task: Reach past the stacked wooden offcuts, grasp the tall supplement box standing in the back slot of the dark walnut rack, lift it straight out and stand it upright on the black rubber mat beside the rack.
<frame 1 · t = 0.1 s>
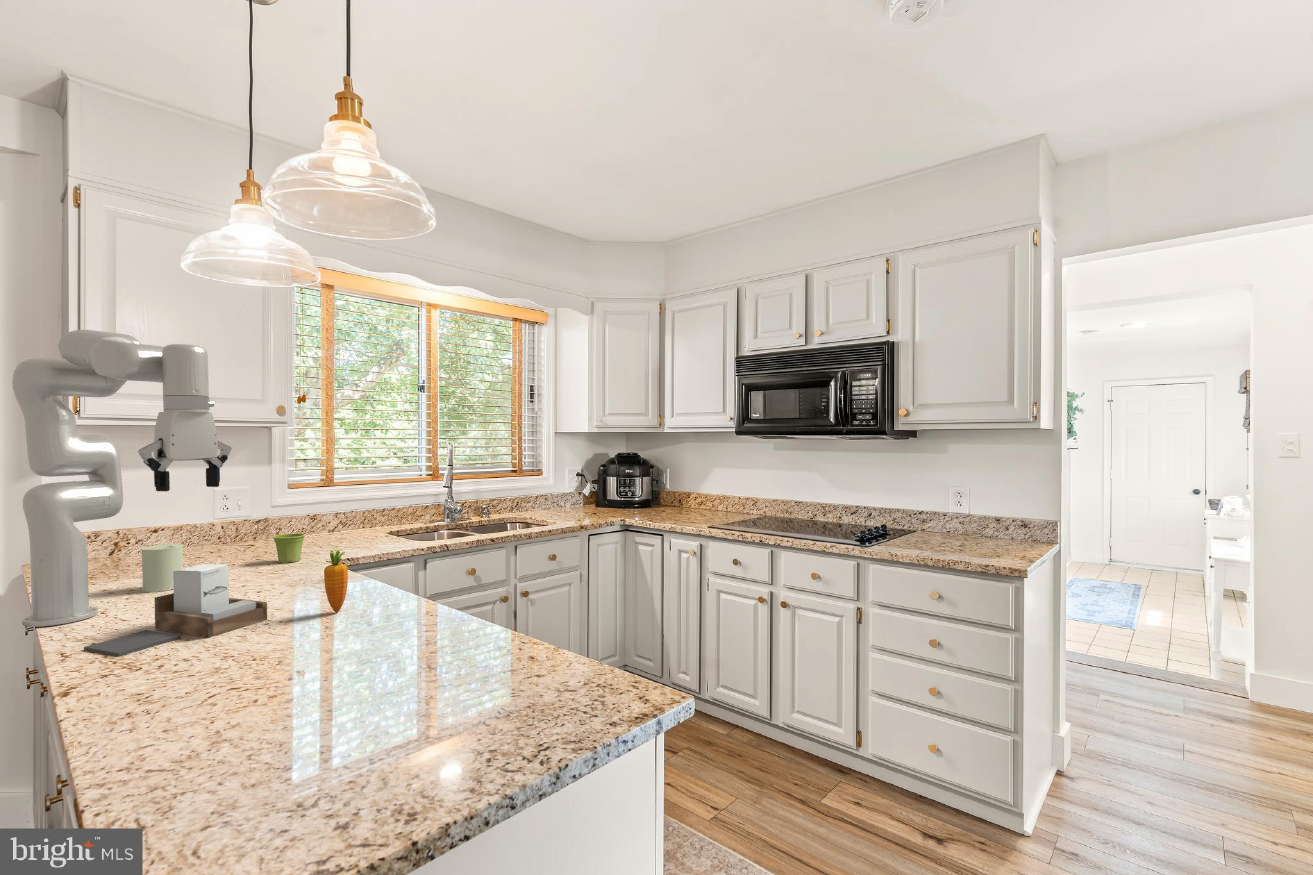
hand: (188, 488, 128), 31 cm above the counter, tool pointing down, fingers open, 9 cm apart
rubber mat: (133, 643, 126), on the counter
plant pot: (289, 562, 206), on the counter
can: (163, 588, 172), on the counter
upper offcut: (228, 617, 136), point 2 cm above the counter, touching lower offcut
walnut rack: (212, 624, 138), on the counter
supplement box: (202, 624, 139), resting in walnut rack
carrot: (336, 613, 146), on the counter
lower offcut: (228, 628, 136), resting in walnut rack, touching upper offcut
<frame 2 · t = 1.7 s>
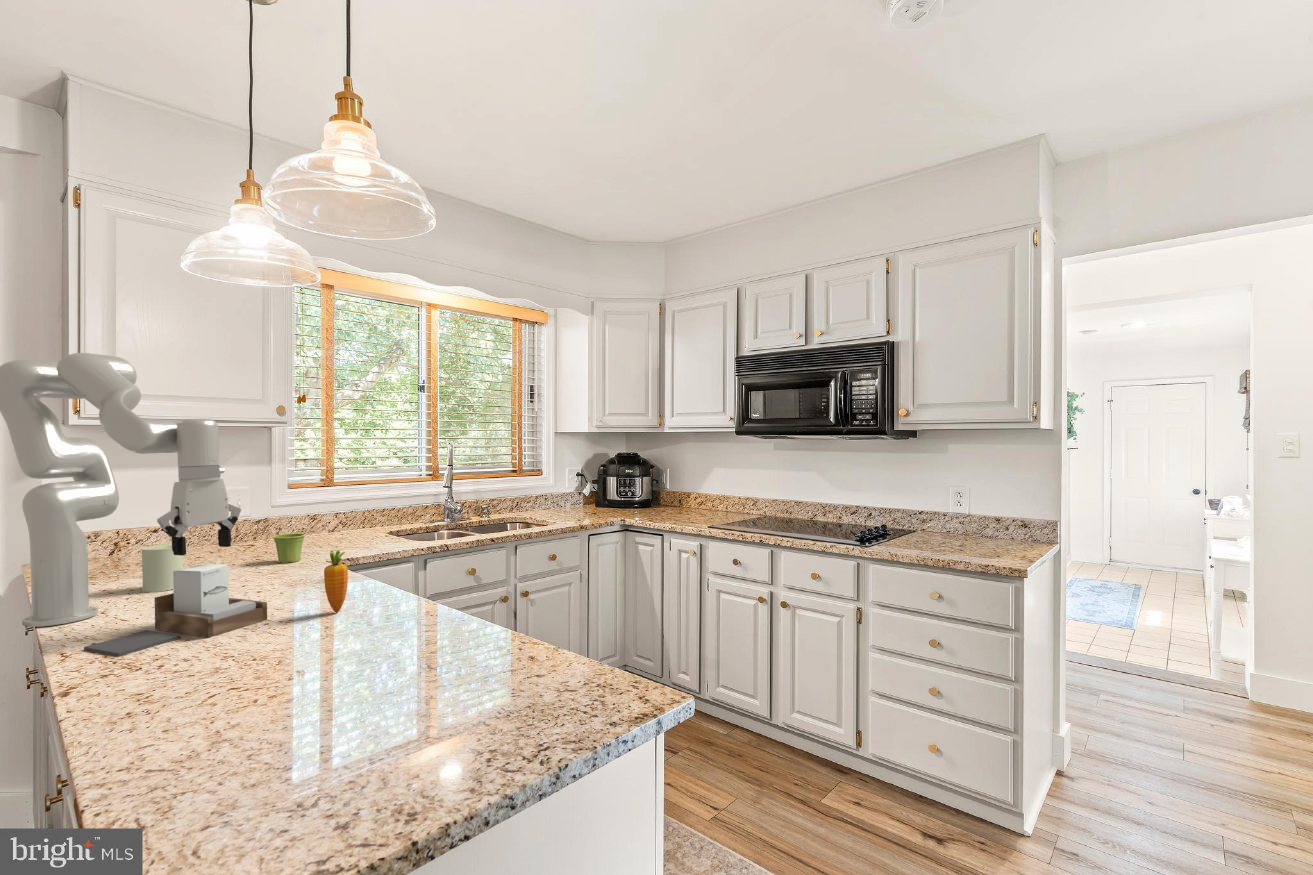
hand: (203, 550, 139), 16 cm above the counter, tool pointing down, fingers open, 9 cm apart
nothing on the counter moved.
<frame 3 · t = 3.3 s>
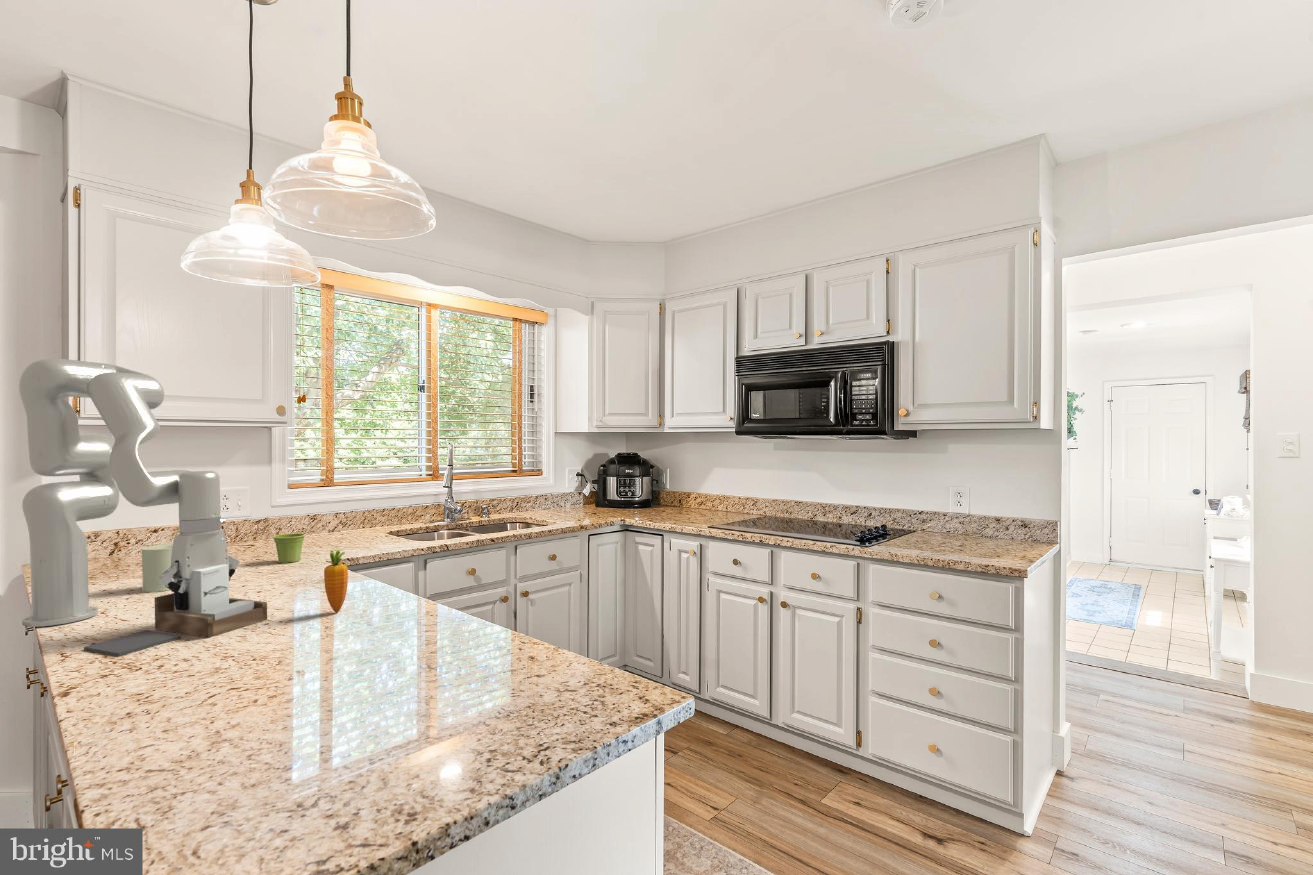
hand: (202, 604, 139), 4 cm above the counter, tool pointing down, fingers closed on supplement box, 8 cm apart
supplement box: (202, 623, 139), resting in walnut rack, touching gripper
everything else where it was.
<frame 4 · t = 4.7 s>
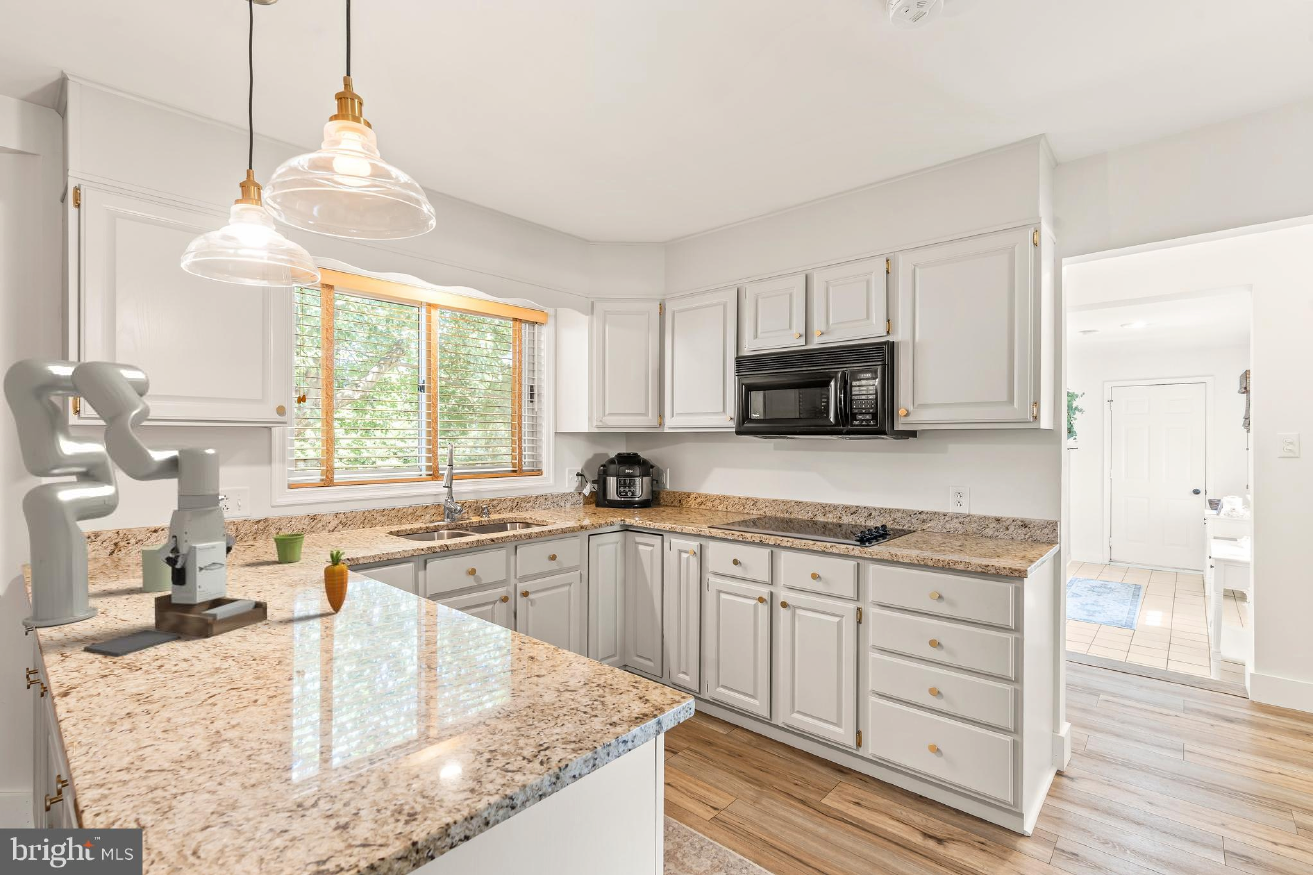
hand: (198, 580, 139), 10 cm above the counter, tool pointing down, fingers closed on supplement box, 7 cm apart
supplement box: (199, 600, 139), point 5 cm above the counter, touching gripper
everything else where it was.
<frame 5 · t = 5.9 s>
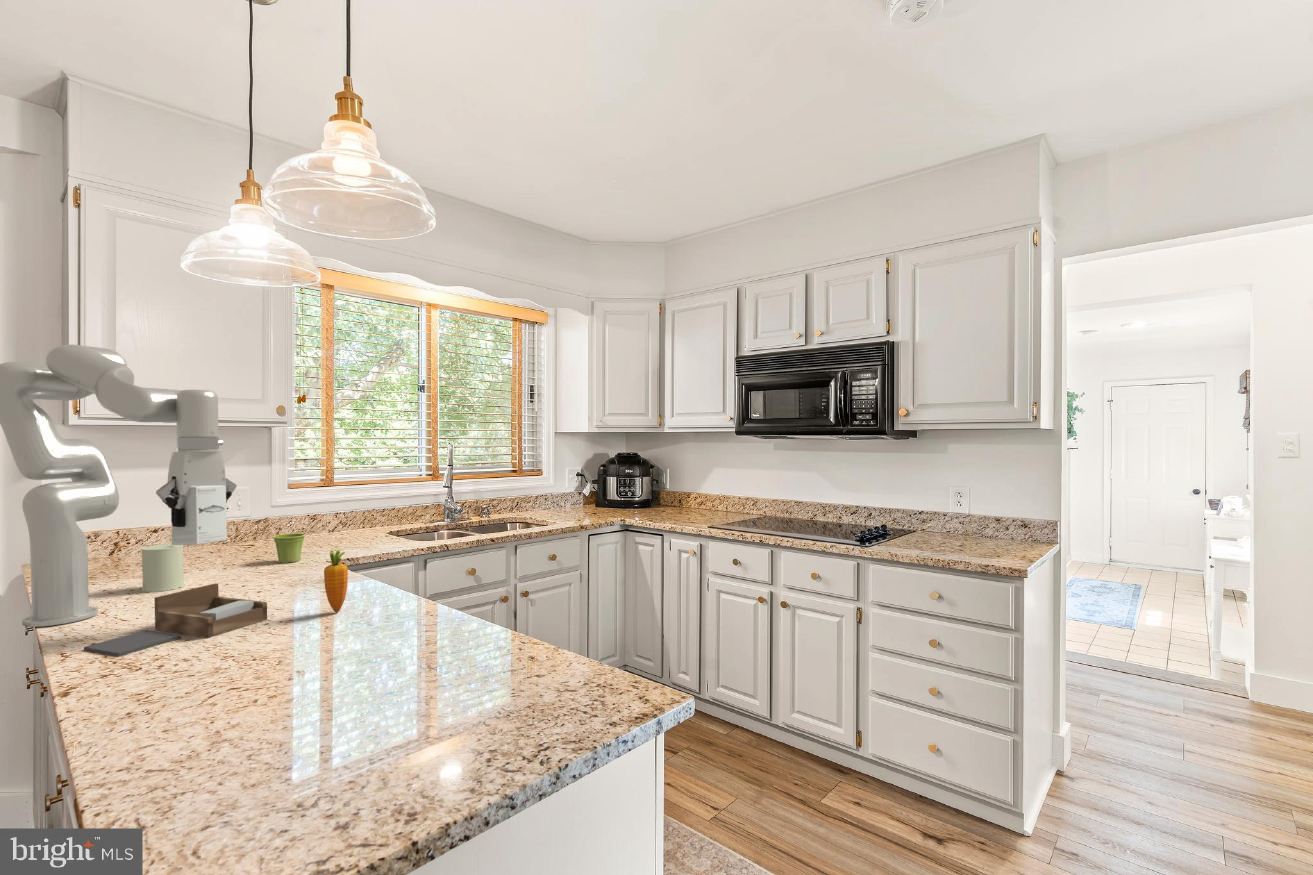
hand: (198, 523, 139), 22 cm above the counter, tool pointing down, fingers closed on supplement box, 7 cm apart
supplement box: (200, 543, 139), point 18 cm above the counter, touching gripper
everything else where it was.
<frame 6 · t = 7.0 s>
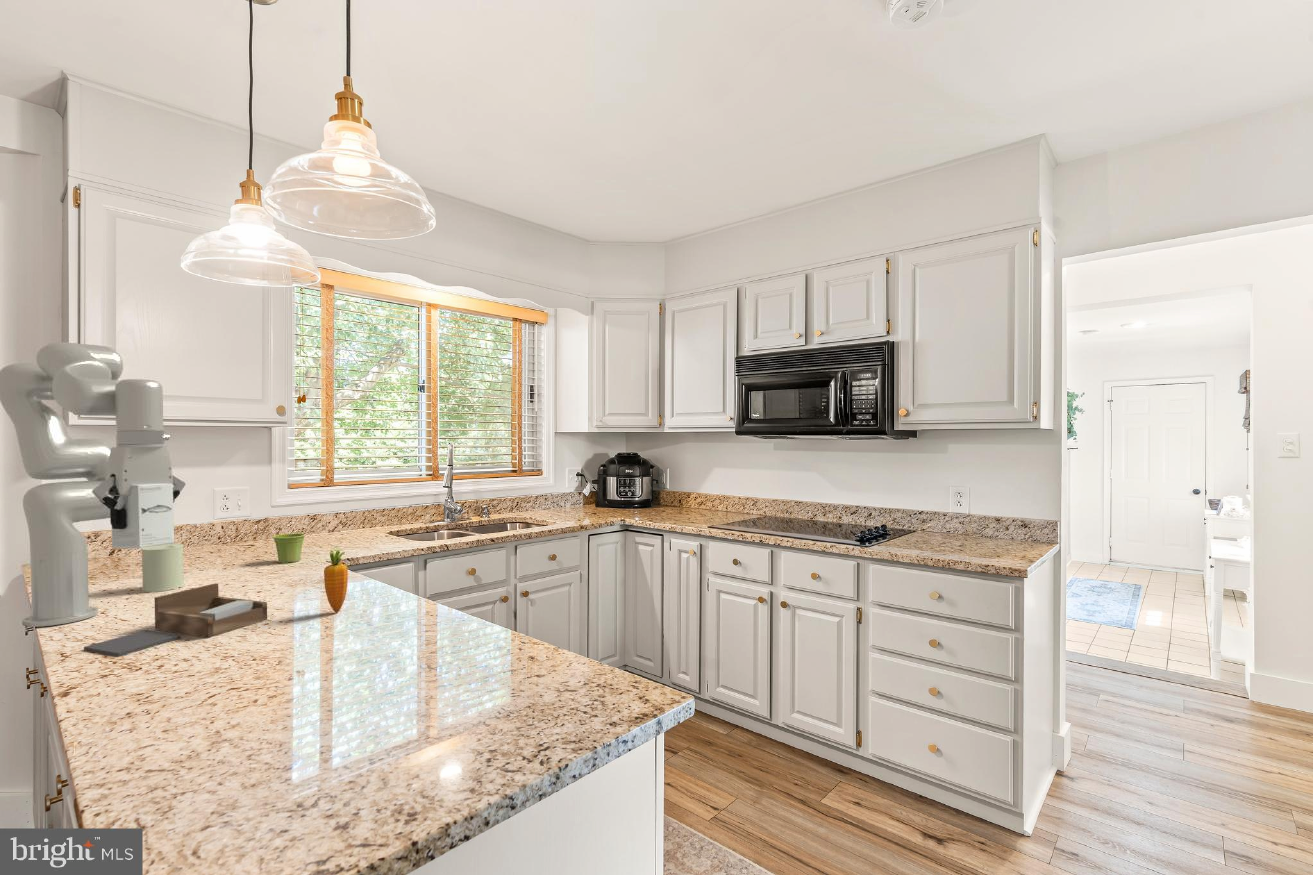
hand: (142, 525, 128), 24 cm above the counter, tool pointing down, fingers closed on supplement box, 7 cm apart
supplement box: (144, 547, 127), point 19 cm above the counter, touching gripper
everything else where it was.
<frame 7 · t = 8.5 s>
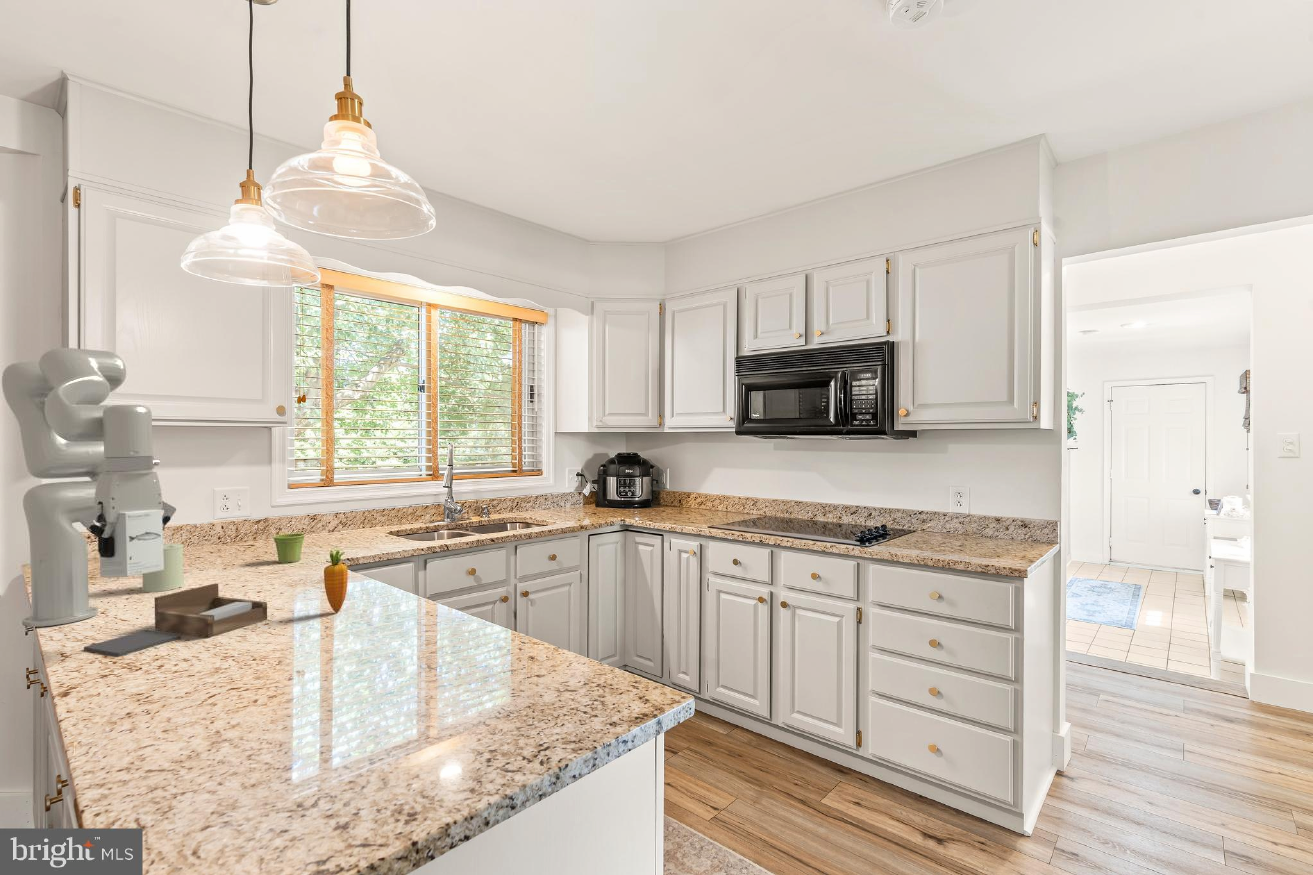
hand: (131, 552, 126), 19 cm above the counter, tool pointing down, fingers closed on supplement box, 7 cm apart
supplement box: (133, 575, 125), point 14 cm above the counter, touching gripper
everything else where it was.
when the fingers open (6 cm above the counter, at t = 11.2 s): supplement box moves 1 cm, resting on rubber mat.
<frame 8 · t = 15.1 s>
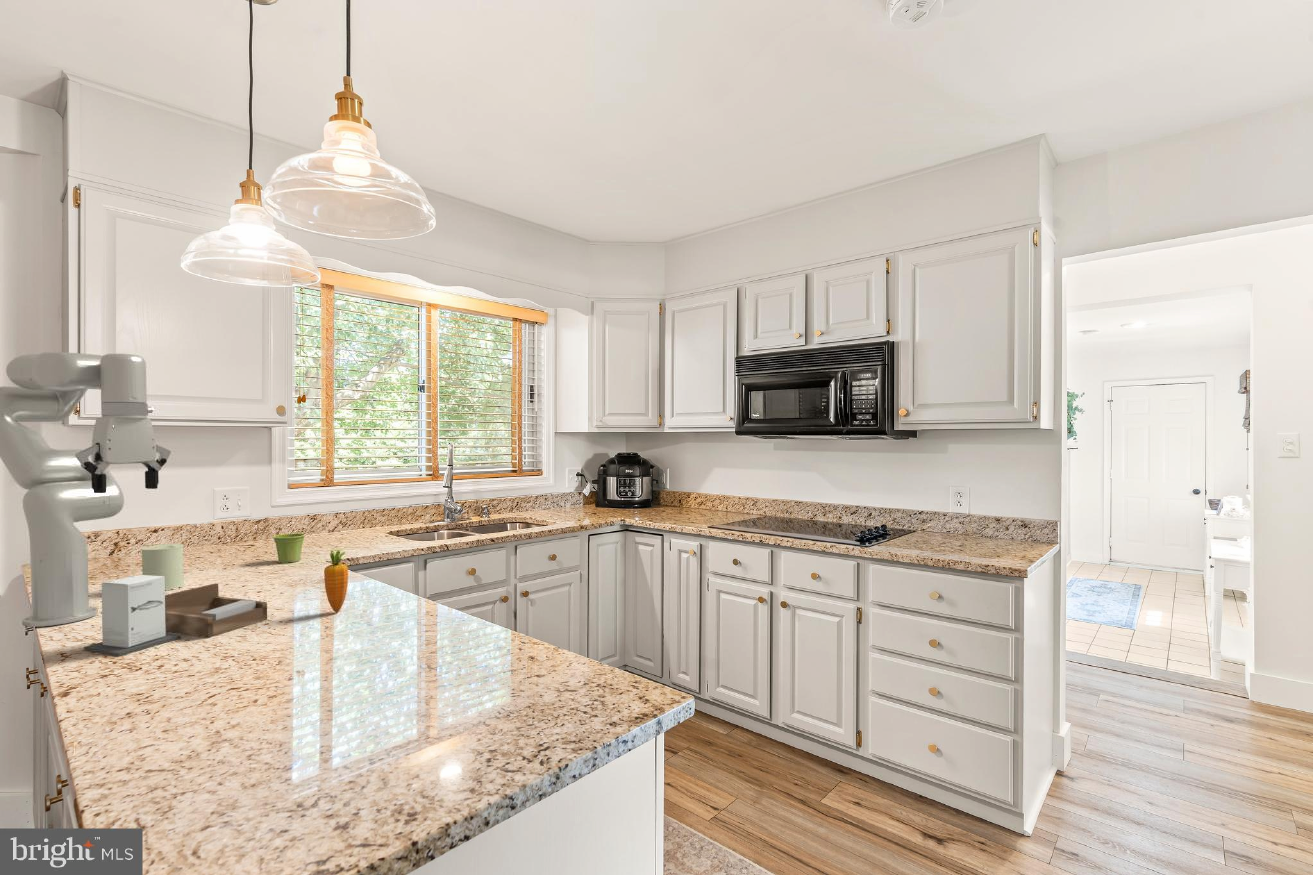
hand: (126, 490, 135), 30 cm above the counter, tool pointing down, fingers open, 9 cm apart
supplement box: (135, 642, 126), resting on rubber mat
everything else where it was.
at the end: supplement box inside the target area on the rubber mat (0.4 cm from its centre), point 0.4 cm above the rubber mat's base; supplement box tilted 0°; the gripper is holding nothing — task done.
